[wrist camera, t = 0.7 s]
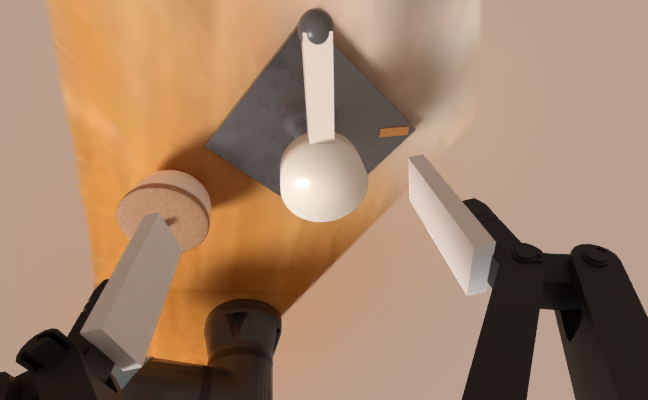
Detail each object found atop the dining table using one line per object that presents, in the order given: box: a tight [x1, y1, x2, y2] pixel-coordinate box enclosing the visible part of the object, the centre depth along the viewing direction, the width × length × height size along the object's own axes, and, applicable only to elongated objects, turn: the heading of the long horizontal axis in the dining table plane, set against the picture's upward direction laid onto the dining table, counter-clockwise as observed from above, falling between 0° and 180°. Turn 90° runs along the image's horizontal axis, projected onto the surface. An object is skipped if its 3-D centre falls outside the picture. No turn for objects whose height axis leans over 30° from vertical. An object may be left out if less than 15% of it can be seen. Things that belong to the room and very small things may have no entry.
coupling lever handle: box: [280, 8, 368, 222], centre depth 31 cm, size 20×9×4 cm, turn 2°
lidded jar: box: [116, 170, 211, 252], centre depth 42 cm, size 11×11×9 cm
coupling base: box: [205, 23, 416, 196], centre depth 39 cm, size 20×20×10 cm
